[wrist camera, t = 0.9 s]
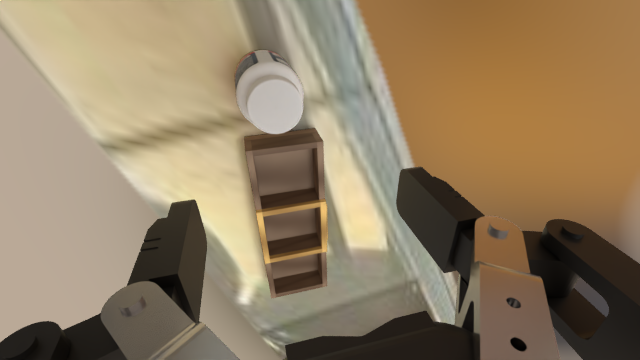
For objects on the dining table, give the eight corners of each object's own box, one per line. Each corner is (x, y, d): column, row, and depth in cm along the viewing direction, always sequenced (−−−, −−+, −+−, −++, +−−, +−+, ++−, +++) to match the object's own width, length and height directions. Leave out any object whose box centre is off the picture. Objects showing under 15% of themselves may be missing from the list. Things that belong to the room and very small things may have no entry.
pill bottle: (240, 109, 30) (242, 147, 22) (230, 51, 27) (229, 73, 19) (293, 103, 31) (313, 138, 23) (289, 47, 28) (310, 66, 20)
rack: (244, 136, 31) (245, 153, 28) (317, 127, 32) (327, 143, 29) (268, 277, 42) (271, 301, 39) (322, 266, 44) (330, 288, 40)
